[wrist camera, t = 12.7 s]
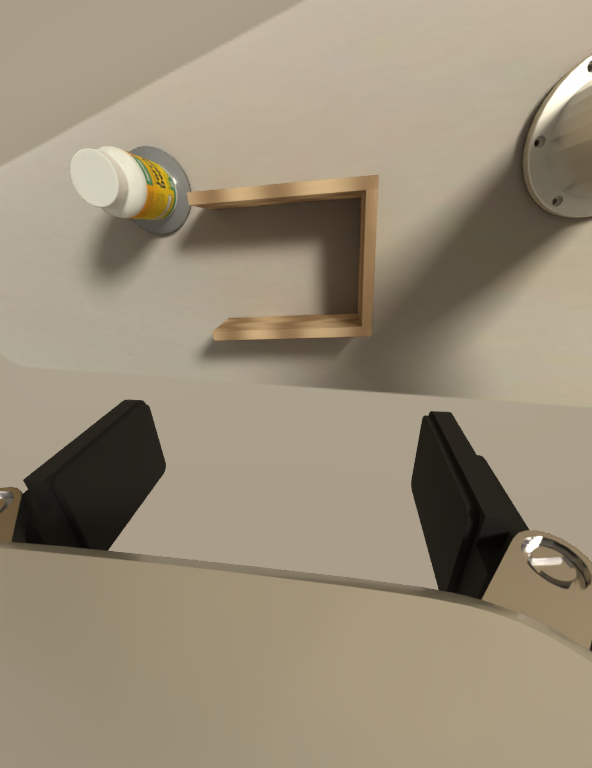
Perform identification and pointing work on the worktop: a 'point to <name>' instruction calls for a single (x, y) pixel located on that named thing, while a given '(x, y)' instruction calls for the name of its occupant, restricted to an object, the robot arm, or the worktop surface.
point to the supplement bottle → (123, 183)
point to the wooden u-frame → (362, 320)
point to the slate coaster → (182, 188)
